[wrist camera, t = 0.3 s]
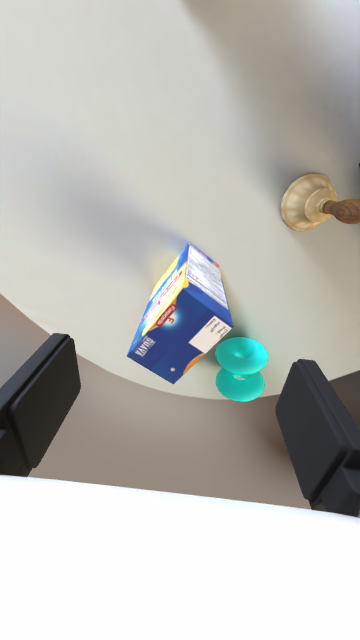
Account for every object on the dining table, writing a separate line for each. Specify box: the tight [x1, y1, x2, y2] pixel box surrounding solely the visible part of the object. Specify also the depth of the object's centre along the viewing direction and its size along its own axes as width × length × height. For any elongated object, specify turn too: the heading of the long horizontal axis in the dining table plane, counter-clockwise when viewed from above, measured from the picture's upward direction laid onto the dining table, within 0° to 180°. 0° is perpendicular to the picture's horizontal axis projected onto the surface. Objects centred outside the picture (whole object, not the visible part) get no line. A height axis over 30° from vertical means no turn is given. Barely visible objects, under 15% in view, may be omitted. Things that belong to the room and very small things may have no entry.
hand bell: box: [281, 173, 360, 231], centre depth 33 cm, size 8×8×16 cm
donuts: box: [216, 337, 268, 402], centre depth 50 cm, size 10×10×10 cm
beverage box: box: [127, 242, 234, 384], centre depth 37 cm, size 7×11×22 cm, turn 143°
